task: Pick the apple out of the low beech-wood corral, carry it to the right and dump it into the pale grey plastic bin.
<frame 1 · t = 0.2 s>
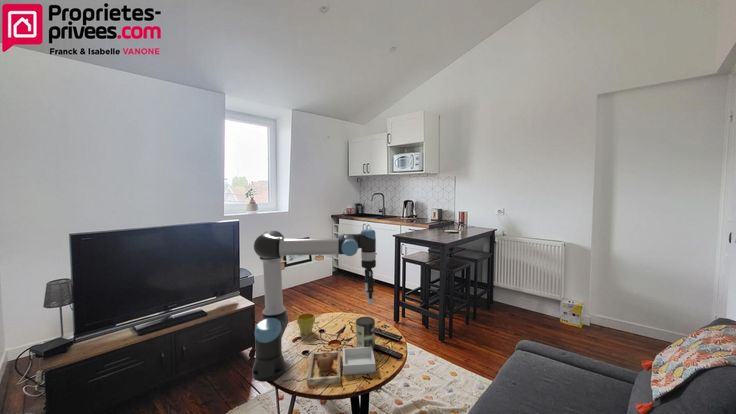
hand: (368, 299, 155), 28 cm above the table, fingers open, 13 cm apart
corral: (325, 369, 141), on the table
plant pot: (306, 332, 178), on the table
bin: (358, 364, 144), on the table
coffee can: (365, 345, 162), on the table
apple: (325, 369, 141), resting in corral
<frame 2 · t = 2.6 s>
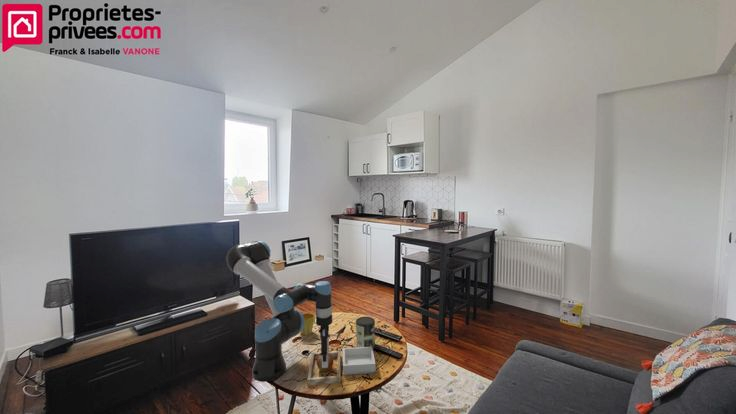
hand: (325, 358, 140), 5 cm above the table, fingers open, 13 cm apart
nothing on the table moved.
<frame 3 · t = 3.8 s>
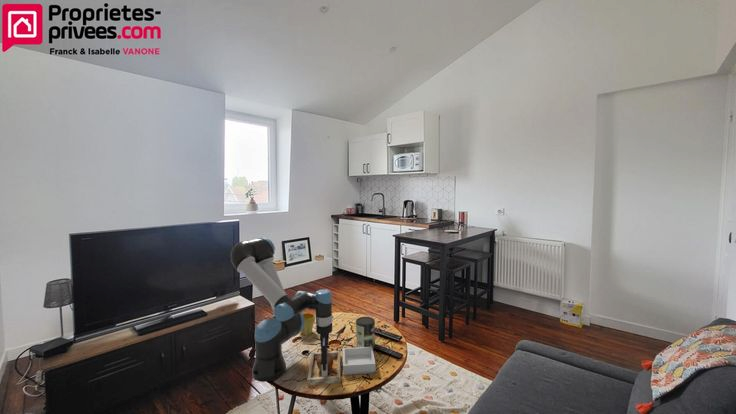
hand: (325, 368, 141), 0 cm above the table, fingers open, 10 cm apart
nothing on the table moved.
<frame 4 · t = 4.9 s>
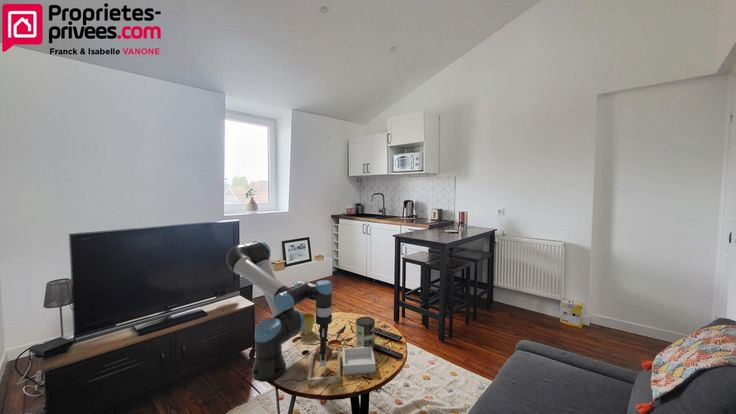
hand: (323, 360, 141), 4 cm above the table, fingers closed on apple, 8 cm apart
apple: (323, 361, 141), point 4 cm above the table, touching gripper
everything else where it was.
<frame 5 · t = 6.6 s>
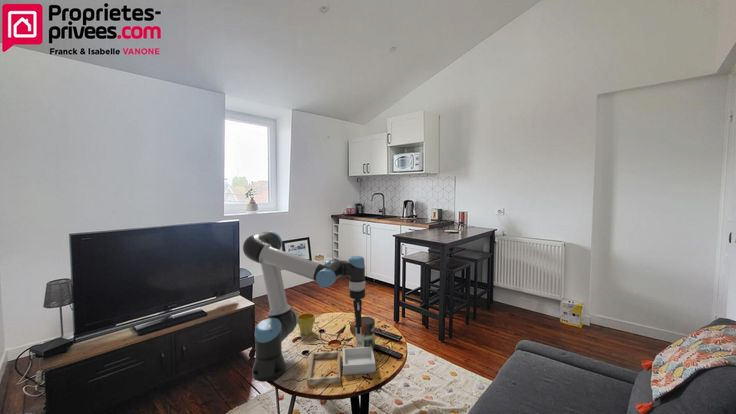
hand: (358, 334, 143), 15 cm above the table, fingers closed on apple, 8 cm apart
apple: (358, 335, 143), point 14 cm above the table, touching gripper
everything else where it was.
when the fingers open (5 cm above the table, at t = 8.5 s): apple drops 4 cm, resting on bin.
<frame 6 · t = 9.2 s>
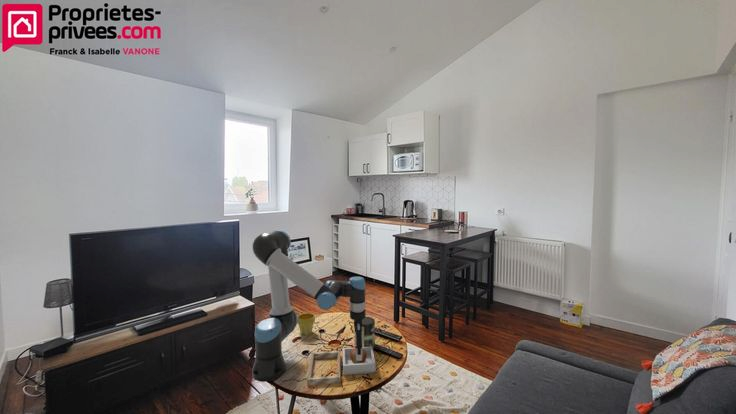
hand: (358, 352, 144), 6 cm above the table, fingers open, 13 cm apart
apple: (358, 363, 144), point 1 cm above the table, touching bin
everything else where it was.
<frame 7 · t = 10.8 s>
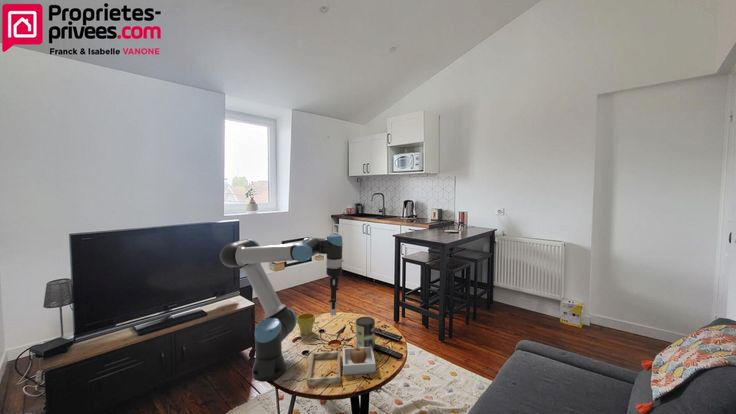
hand: (333, 309, 146), 27 cm above the table, fingers open, 13 cm apart
nothing on the table moved.
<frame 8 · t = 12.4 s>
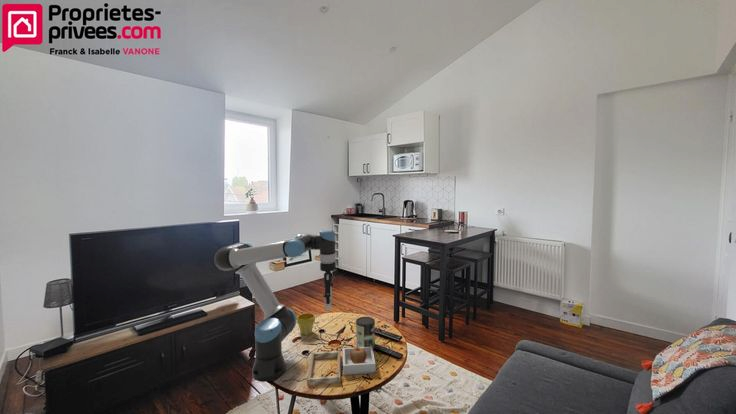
hand: (328, 304, 146), 29 cm above the table, fingers open, 13 cm apart
nothing on the table moved.
at the end: apple 0.2 cm from the bin (horizontally); apple point 0.6 cm above the table; the gripper is holding nothing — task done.
